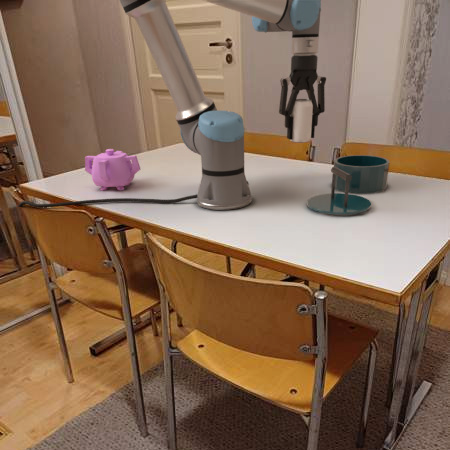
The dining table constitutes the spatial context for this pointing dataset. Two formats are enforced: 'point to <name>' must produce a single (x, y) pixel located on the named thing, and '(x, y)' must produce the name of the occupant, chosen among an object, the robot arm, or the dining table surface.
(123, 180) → the pot
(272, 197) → the dining table surface
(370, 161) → the pot
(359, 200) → the lid
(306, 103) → the can
